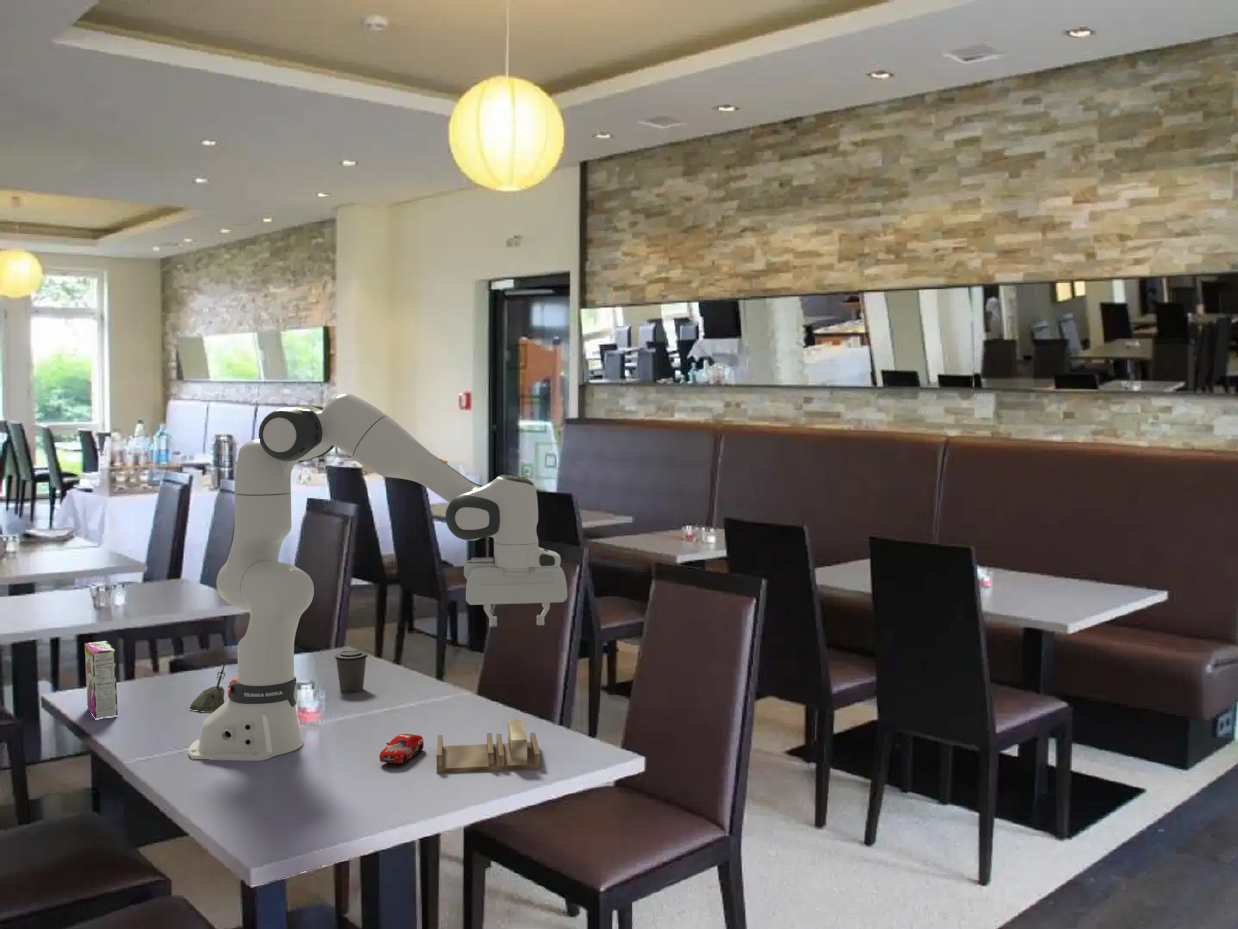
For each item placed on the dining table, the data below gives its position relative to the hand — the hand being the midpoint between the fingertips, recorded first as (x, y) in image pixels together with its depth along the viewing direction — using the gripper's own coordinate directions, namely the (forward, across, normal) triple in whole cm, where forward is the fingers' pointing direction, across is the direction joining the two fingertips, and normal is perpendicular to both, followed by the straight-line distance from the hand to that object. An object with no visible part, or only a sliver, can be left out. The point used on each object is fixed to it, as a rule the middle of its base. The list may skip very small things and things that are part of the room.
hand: (516, 625), depth 223 cm
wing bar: (+26, 0, 0) cm, 26 cm away
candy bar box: (+27, -92, +43) cm, 106 cm away
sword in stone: (+28, -69, +45) cm, 87 cm away
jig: (+27, -6, 0) cm, 28 cm away
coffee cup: (+27, -38, +57) cm, 74 cm away
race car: (+29, -23, -1) cm, 37 cm away
